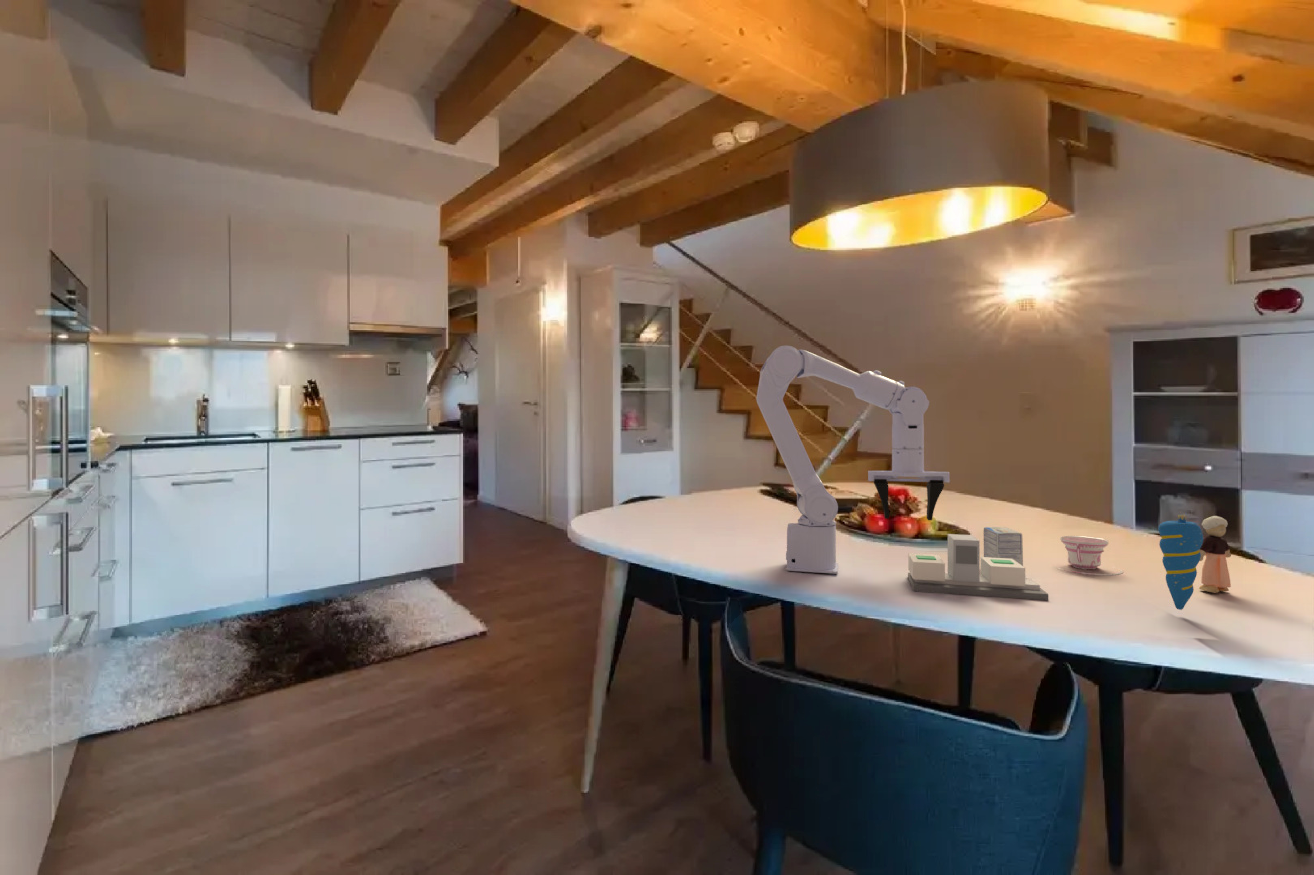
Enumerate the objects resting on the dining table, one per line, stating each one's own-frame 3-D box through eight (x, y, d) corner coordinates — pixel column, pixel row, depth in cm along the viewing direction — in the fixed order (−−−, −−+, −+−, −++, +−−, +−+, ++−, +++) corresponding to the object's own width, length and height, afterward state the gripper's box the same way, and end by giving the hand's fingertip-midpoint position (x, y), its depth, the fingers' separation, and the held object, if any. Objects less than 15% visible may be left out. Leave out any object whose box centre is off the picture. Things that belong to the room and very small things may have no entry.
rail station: (913, 591, 102) (913, 561, 102) (907, 577, 112) (907, 551, 112) (1048, 600, 96) (1048, 569, 96) (1029, 585, 106) (1029, 557, 106)
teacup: (1057, 561, 127) (1057, 532, 127) (1128, 570, 118) (1128, 539, 118) (1041, 570, 119) (1041, 539, 119) (1117, 580, 110) (1117, 547, 110)
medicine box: (1023, 580, 110) (1023, 533, 110) (997, 579, 111) (997, 532, 111) (1007, 571, 118) (1007, 527, 118) (983, 570, 119) (983, 526, 119)
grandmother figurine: (1220, 595, 99) (1220, 518, 99) (1191, 589, 103) (1191, 516, 103) (1240, 589, 103) (1240, 515, 103) (1211, 584, 106) (1211, 513, 106)
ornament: (1149, 605, 93) (1149, 509, 93) (1179, 604, 94) (1179, 508, 94) (1181, 615, 88) (1180, 513, 88) (1213, 614, 89) (1212, 512, 89)
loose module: (953, 580, 102) (953, 539, 102) (947, 572, 108) (947, 534, 108) (979, 582, 101) (979, 540, 101) (972, 574, 107) (972, 535, 107)
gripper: (869, 449, 115) (869, 520, 115) (952, 449, 110) (952, 523, 110) (867, 448, 122) (867, 515, 122) (946, 448, 117) (946, 518, 117)
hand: (907, 518), depth 116 cm, fingers open, 7 cm apart
